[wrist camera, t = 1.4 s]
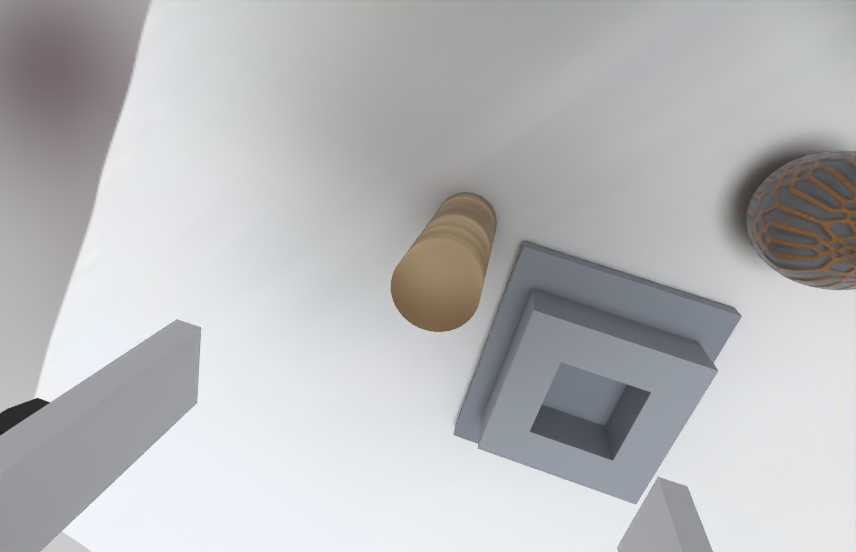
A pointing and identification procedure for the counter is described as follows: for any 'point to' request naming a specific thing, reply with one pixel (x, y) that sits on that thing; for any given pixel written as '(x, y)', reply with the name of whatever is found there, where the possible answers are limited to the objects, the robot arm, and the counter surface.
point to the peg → (446, 265)
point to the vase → (808, 220)
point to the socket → (591, 371)
